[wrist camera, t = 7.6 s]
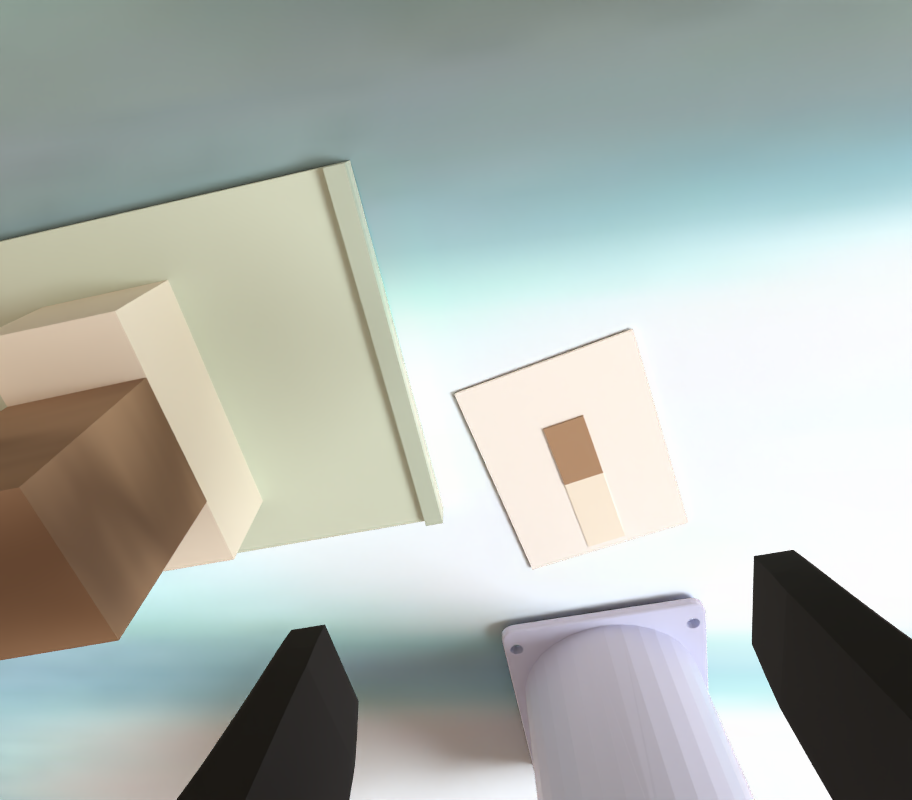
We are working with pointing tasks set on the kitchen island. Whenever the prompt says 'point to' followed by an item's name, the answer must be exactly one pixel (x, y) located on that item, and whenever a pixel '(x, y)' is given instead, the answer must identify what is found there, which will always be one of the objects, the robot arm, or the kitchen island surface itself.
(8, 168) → the kitchen island surface
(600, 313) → the kitchen island surface
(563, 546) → the page
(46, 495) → the walnut brick
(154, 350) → the base brick
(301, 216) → the plate
